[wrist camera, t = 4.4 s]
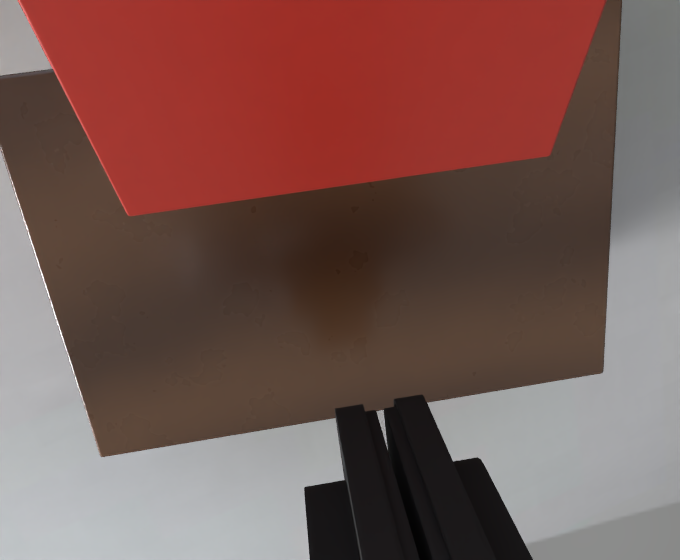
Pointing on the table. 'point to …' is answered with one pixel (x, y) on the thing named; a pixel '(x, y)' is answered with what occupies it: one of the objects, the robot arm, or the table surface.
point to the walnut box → (318, 277)
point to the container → (309, 89)
